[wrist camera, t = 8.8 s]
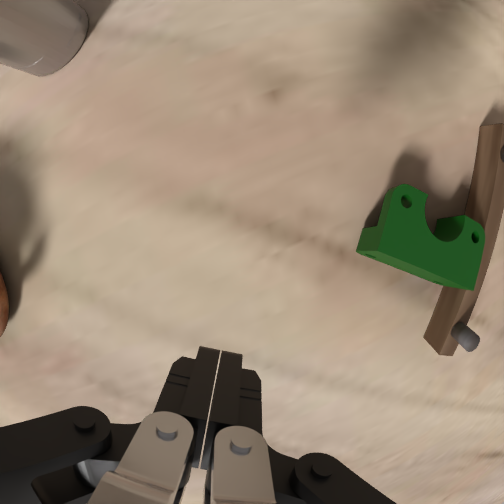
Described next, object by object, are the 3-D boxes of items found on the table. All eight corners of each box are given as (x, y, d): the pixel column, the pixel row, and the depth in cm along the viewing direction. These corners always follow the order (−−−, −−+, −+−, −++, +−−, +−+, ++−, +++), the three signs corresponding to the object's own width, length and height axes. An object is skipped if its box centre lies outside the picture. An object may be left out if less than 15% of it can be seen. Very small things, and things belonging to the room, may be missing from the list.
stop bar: (423, 337, 31) (452, 370, 24) (479, 126, 25) (521, 120, 18) (436, 338, 31) (466, 370, 24) (492, 133, 25) (534, 130, 18)
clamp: (423, 226, 32) (492, 234, 24) (410, 277, 32) (479, 294, 24) (356, 180, 27) (441, 177, 19) (338, 243, 27) (423, 259, 19)
